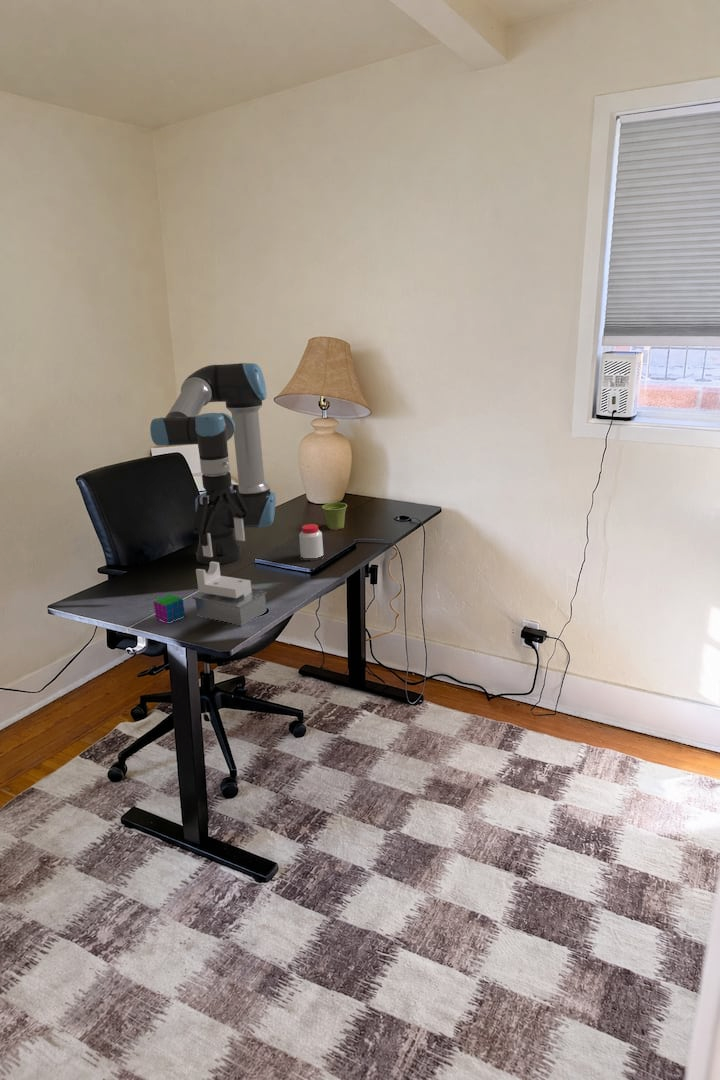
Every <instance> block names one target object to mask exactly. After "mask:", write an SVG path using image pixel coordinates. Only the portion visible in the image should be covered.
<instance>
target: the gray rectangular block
mask: <svg viewBox="0 0 720 1080" xmlns="http://www.w3.org/2000/svg"><path fill="white" fill-rule="evenodd" d="M251 590H252V592H251V593H249V594H248V595H246V596H245V597H243V596H239V597H238V598H231V597H225V596H220V595H214V594H208V593H202V592H198V594H195V595H193V596H192V600H195V607H196V616H197V615H199V616H202V617H201V618H203V617H206V618H205V619H207V618H210V619H209V620H212V619H215V620H214V621H216V620H219V621H218V622H220V621H224V622H228V623H227V624H229V623H232V624H231V625H233V624H236V625H235V626H237V625H240V626H239V627H243V626H242V625H244V624H245V625H247V624H248V623H250V622H252V621H253V620H254V619H253V618H255V617H256V618H258V617H259V615H260V614H261V615H263V614H264V613H266V612H267V604H266V603H267V601H266V594H268V591H266V590H263V589H257V588H252V587H251ZM262 613H263V614H262ZM261 615H260V616H261ZM199 616H198V617H199ZM257 616H258V617H257ZM256 618H255V619H256ZM252 619H253V620H252ZM251 620H252V621H251ZM249 621H250V622H249ZM224 622H223V623H224ZM246 623H247V624H246ZM245 625H244V626H245Z"/></svg>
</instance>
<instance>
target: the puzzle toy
mask: <svg viewBox="0 0 720 1080" xmlns="http://www.w3.org/2000/svg"><path fill="white" fill-rule="evenodd" d="M153 608H154V613H155V619H156V618H158V619H161V620H163V621H165V622H171V621H173V620H176V619H178V618H181V617H183V616H185V617H186V614H185V606H184V599H183V598H180V597H178V596H175V595H173V594H168V595H166V596H162V597H161V598H158V599H155V600H153Z"/></svg>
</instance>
